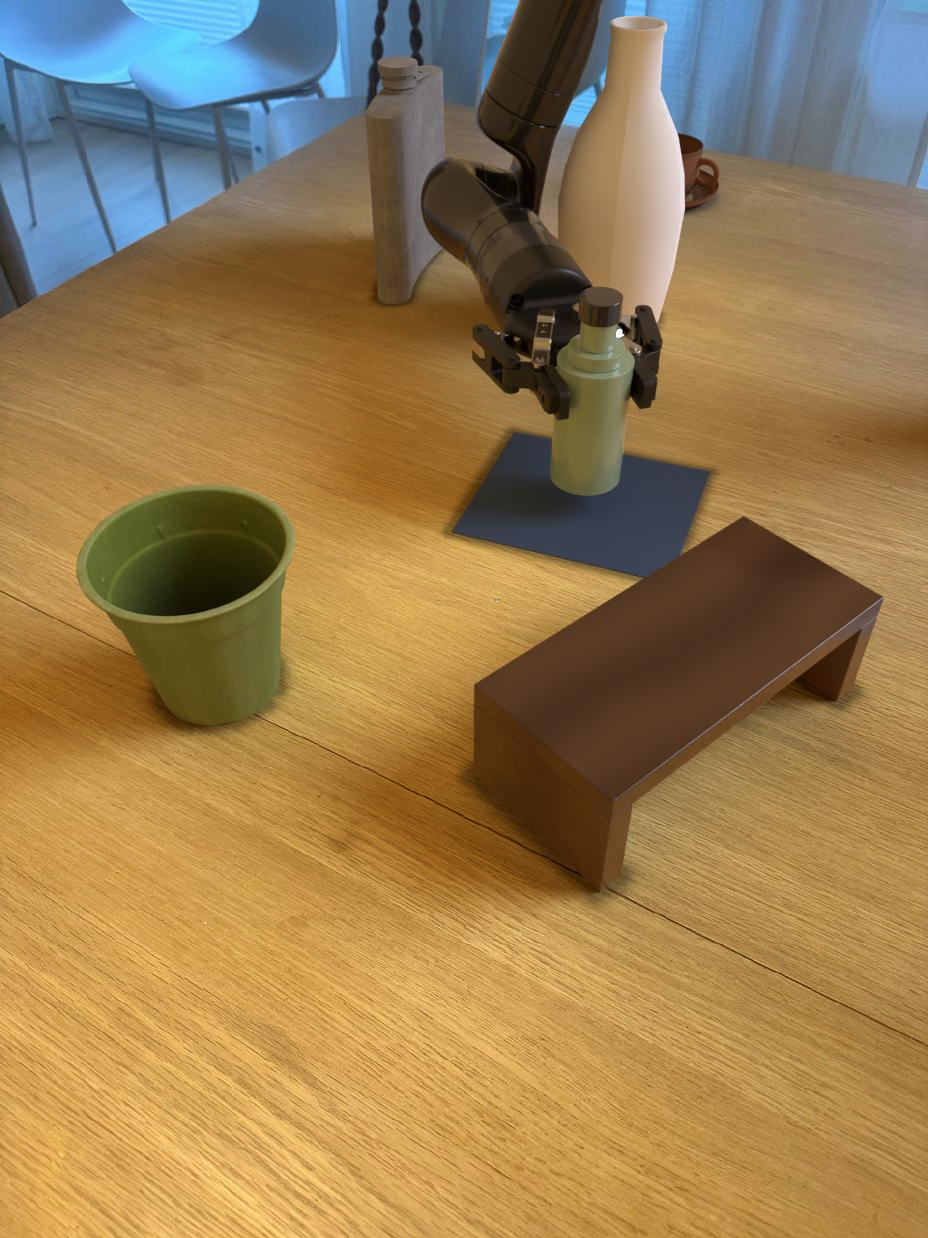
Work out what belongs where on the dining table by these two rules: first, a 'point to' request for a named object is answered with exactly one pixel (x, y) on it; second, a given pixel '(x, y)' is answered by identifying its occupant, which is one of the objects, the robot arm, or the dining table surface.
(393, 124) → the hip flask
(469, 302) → the dining table surface
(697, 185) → the cup and saucer
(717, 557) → the shelf
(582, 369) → the spice bottle
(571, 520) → the mat
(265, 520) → the plant pot
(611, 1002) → the dining table surface
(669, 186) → the bottle
